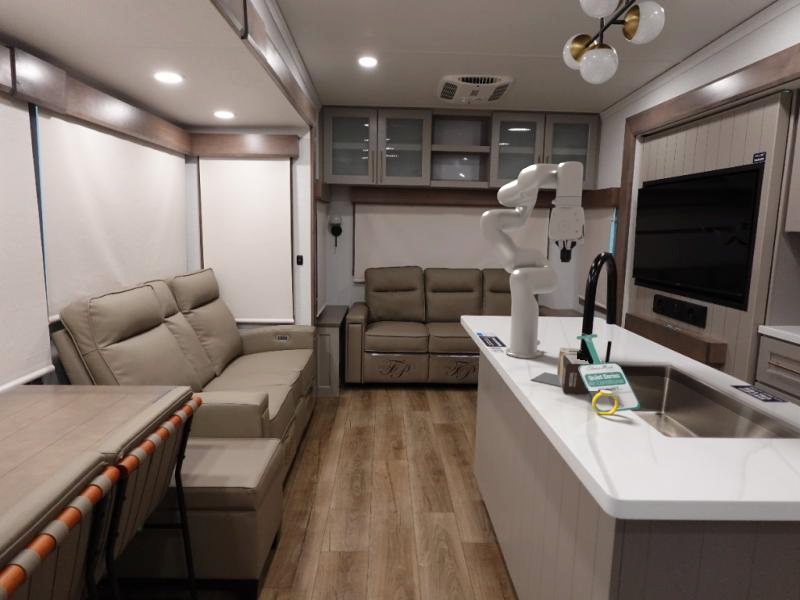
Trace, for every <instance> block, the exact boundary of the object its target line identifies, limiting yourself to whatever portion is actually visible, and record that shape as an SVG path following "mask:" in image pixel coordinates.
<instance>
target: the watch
mask: <svg viewBox="0 0 800 600" xmlns="http://www.w3.org/2000/svg"><path fill="white" fill-rule="evenodd" d="M601 396H605V397H611V396H612V398H613V399H614V406H613V408H612V409H611V410H609V411H598V410H597V408H596V402H597V400H598V399H599V398H600V397H601ZM618 400H619V399H618V398H617V397H616V395H614V393H613V391H611V390H608V389H600V390H599V392H598V393H596V394H595V395H594V397H592V401H591V406H592V409H593V410H594V411H595V413H597V414H598V415H601V416H602V415H603V416H604V415H605V416H612V415H613V414H614V413H616V411H618V410H617V409H618V408H619V401H618Z"/></svg>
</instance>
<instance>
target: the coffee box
mask: <svg viewBox="0 0 800 600" xmlns="http://www.w3.org/2000/svg"><path fill="white" fill-rule="evenodd" d="M580 349H581V348H574V347H573V348H572V347H559V352H558V363H557V371H556V375H557V376H558V379H559V381H560V384H561V387H560V388H561V390H562V392H563V394H568V395H576V396H577V395H578V396H579V395H583V396H587V395H588V390H587V391H586V389H585V386H584V384H583V382H582V379H581V376H580V373H579V371H578V367H579V366H580V365H585V364H590V363H589V361H588V360H587V361H585V360H580V359H577V351H579V350H580Z"/></svg>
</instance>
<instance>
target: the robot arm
mask: <svg viewBox="0 0 800 600" xmlns="http://www.w3.org/2000/svg"><path fill="white" fill-rule="evenodd" d="M583 177H584V165H583V163H582V162H580V161H564V162H560V163H559V164H558V163H555V164H554V163H534V164H532V165H528V166H527V167H526V168H523V169H522V170H521V171H519V175H518V176H517V179H515V180H512V181H510V182H508V183H506V184H504V185H503V186H501V187H500V189H498V192H497V193H496V194H497V195H496V196H497V200H498V203H499V204H501V205H503V206H504V207H508V208H515V209H503V208H502V209H501V208H500V209H497V208H496V209H495V208H494V209H490V210H487V211H484V212H483V213H482V215H481V216H480V219H479V228H480V232H481V233H480V234H481V236H482V238H483V240H484V241H485V242H486V244H487V245H488V246H489V248H491V250H492V251H493V253H494V254H495V256H496V257H497V259H498V261H499V263H500V264H501V265H502V267H503V269H504V270H505V272H507V273H508V274H510V275H509V288H510V294H511V296H510V297H511V308H510V310H511V313H510V316H511V317H510V340H509V342H510V343H509V347H508V348H506V349H505V354H506V355H507V354H508V355H507V356H509V355H510V356H509V357H512V356H513V358H517V357H518V358H519V359H537V358H540V357H541V356H542V351H541V350H539V349H538V346H539V345H540V344H541V341H540V340H539V339H538V337H539V335H538V333H539V315H540V314H539V312H540V310H539V304H538V301H537V299H536V298H535V295H539V294H540V295H541V294H550V293H553V292H555V291H556V289H558V286H559V276H558V273H557V271H556V270H555V268H554V266H553V265H552V264H551V263H550V261H549V259H548V258H547V257H546V256H545V254H544V252H542V251H541V250H540V249H539V248H537V247H536V248H535V247H521V246H519V245H518V244H517V243H516V242H515V240H514V238H512V237H511V236H510V235H509V234H507V233H506V232H518V231H521V230H522V229H524V227H525V226H526V224H527V222H528V219H530V218H529V217H531V213H532V211H533V209H534V207H535V205H536V202H537V199H538V193H539V189H556V192H555V194H556V195H555V199H552V200H551V204H552V205H554V206H555V207H552V210H551V214H550V219H549V225H548V226H549V227H548V238H549V243H551V244H554V245H556V246H557V247H558V249H559V251H560V252H559V260H560V262H561V263H570V261H571V260H572V254H573V251H572V250H574V248H575V247H576V246H578V245H581V244H584V243H585V239H584V237H585V235H586V234H585V233H586V232H585V231H586V220H585V212H584V207H582V198H583V197H582V196H583V195H582V194H583ZM566 241H567V242H566Z"/></svg>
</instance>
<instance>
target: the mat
mask: <svg viewBox="0 0 800 600" xmlns="http://www.w3.org/2000/svg"><path fill="white" fill-rule="evenodd" d="M530 381H532V382H536V383H542V384H545V385H548V386H549V385H550V386H554V387H555V386H556V387H559V388H562V387H561V384H560V381H559V379H558V376H557V373H556V374H555V373H550V372H542V373H541V374H539V375H537V376H535V377H532V378H531V379H530Z"/></svg>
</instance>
